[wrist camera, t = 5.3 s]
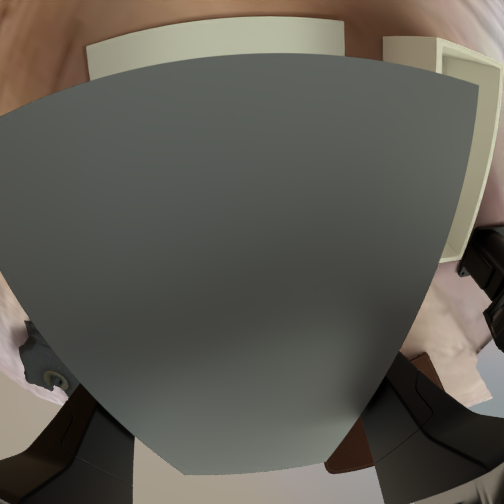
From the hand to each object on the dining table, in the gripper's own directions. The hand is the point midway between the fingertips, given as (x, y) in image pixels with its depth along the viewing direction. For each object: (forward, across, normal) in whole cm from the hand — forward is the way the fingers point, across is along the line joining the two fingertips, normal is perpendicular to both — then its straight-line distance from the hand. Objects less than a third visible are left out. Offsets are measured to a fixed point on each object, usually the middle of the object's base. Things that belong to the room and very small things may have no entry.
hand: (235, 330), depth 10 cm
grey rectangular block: (0, 0, 0) cm, 1 cm away
